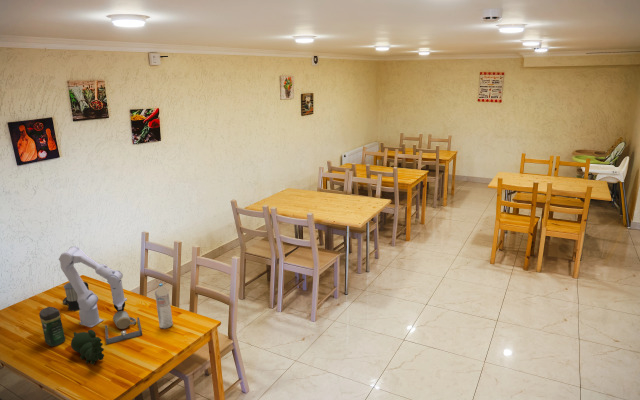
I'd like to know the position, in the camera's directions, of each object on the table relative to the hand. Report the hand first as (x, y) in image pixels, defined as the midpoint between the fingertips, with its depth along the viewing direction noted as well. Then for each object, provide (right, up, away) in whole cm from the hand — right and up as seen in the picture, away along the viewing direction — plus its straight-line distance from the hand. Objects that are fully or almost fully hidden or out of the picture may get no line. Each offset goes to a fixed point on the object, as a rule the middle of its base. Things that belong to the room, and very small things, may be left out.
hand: (121, 315), depth 239 cm
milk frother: (-37, +1, +20) cm, 42 cm away
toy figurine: (-2, -13, -29) cm, 32 cm away
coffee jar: (-26, -9, -16) cm, 32 cm away
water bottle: (+26, -5, -3) cm, 27 cm away
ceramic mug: (+3, -5, -2) cm, 6 cm away
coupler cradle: (+5, -7, -9) cm, 13 cm away
